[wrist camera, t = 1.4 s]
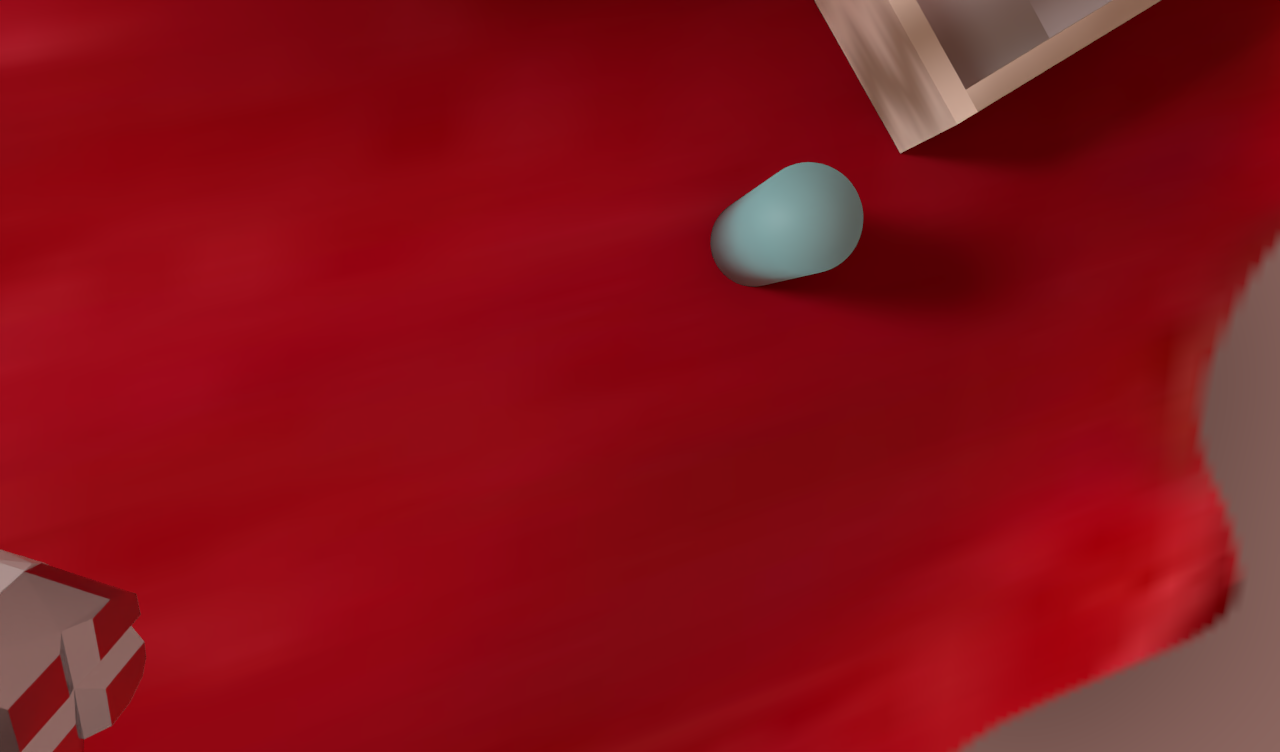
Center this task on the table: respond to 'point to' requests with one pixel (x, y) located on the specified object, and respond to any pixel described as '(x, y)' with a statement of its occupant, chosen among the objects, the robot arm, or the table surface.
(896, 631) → the table surface
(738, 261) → the peg
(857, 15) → the bore box
